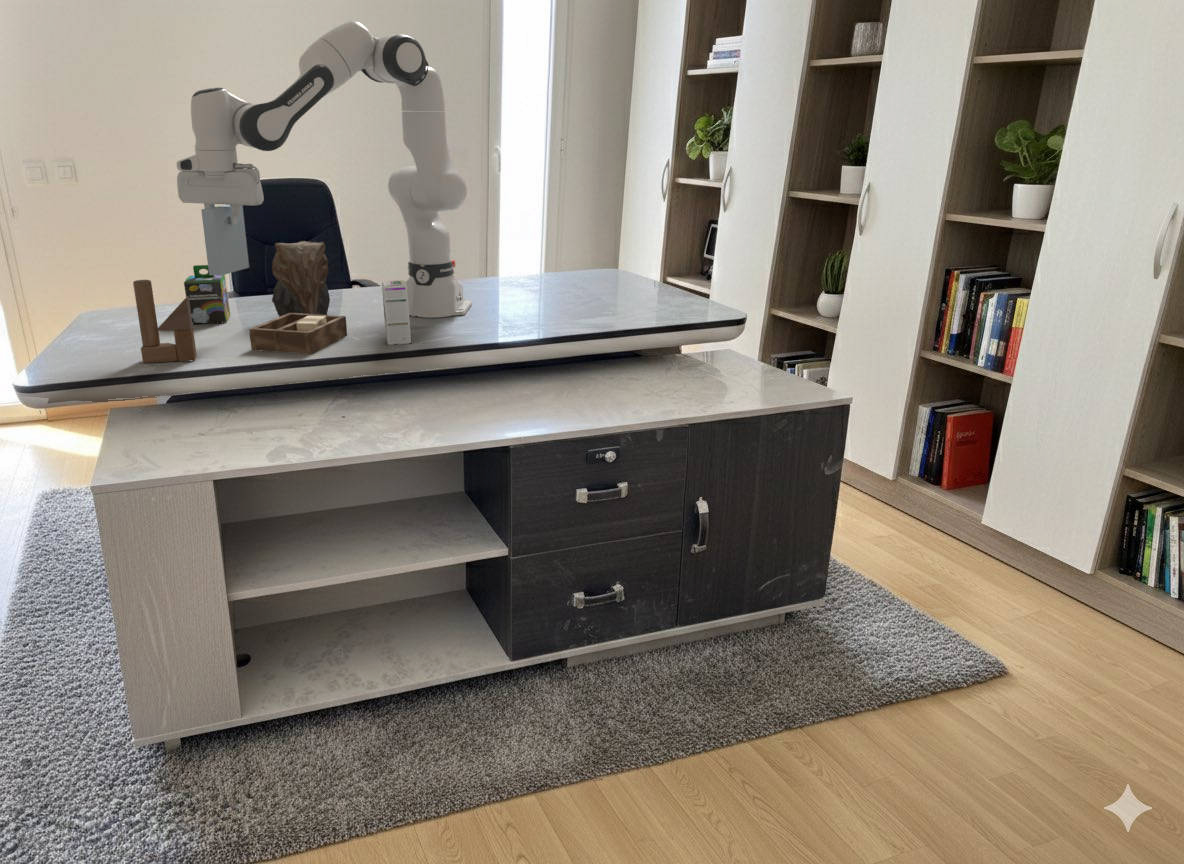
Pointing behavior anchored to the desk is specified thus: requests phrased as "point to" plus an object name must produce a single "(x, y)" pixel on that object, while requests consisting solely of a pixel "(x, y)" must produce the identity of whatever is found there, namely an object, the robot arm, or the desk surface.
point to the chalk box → (207, 296)
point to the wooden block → (163, 328)
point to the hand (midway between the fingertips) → (224, 223)
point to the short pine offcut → (310, 322)
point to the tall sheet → (224, 241)
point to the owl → (300, 278)
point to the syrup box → (396, 312)
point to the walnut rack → (296, 334)
